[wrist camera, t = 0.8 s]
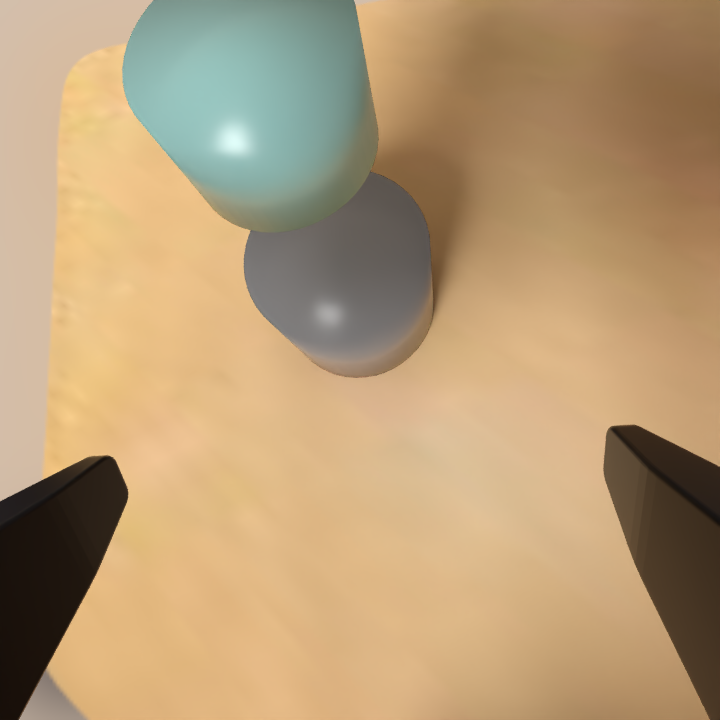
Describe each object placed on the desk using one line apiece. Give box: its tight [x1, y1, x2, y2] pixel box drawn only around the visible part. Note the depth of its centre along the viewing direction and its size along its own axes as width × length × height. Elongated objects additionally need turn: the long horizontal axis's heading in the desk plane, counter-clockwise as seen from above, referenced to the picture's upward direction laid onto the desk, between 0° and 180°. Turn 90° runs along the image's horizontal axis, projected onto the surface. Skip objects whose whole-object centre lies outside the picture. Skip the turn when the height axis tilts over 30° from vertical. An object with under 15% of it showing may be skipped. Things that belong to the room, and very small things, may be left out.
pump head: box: [122, 0, 379, 232], centre depth 12 cm, size 7×5×5 cm, turn 5°
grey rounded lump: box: [244, 172, 434, 378], centre depth 20 cm, size 7×7×6 cm
